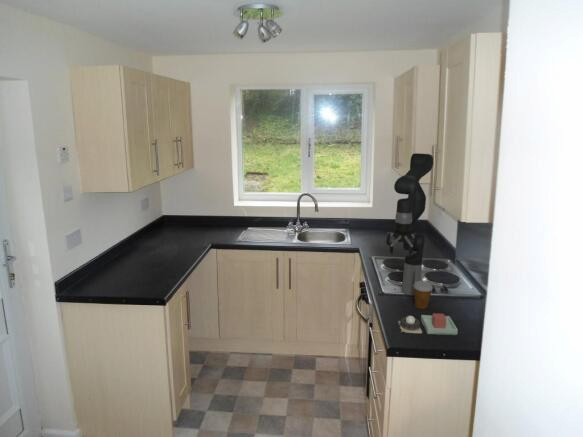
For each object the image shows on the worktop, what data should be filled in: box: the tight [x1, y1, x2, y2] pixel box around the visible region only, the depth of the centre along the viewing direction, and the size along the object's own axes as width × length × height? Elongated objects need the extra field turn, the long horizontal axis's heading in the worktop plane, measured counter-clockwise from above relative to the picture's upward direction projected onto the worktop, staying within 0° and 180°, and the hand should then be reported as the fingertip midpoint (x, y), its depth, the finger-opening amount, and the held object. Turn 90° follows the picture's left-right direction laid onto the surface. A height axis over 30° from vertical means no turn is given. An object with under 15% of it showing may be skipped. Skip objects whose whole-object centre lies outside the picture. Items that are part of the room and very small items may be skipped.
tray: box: [420, 314, 458, 336], centre depth 207 cm, size 13×13×3 cm
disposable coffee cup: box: [413, 280, 434, 310], centre depth 227 cm, size 10×10×12 cm
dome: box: [405, 315, 416, 324], centre depth 205 cm, size 4×4×4 cm
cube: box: [432, 312, 447, 329], centre depth 206 cm, size 5×5×5 cm
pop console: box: [397, 316, 423, 334], centre depth 205 cm, size 9×9×4 cm
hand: (400, 253), depth 215 cm, fingers open, 8 cm apart
